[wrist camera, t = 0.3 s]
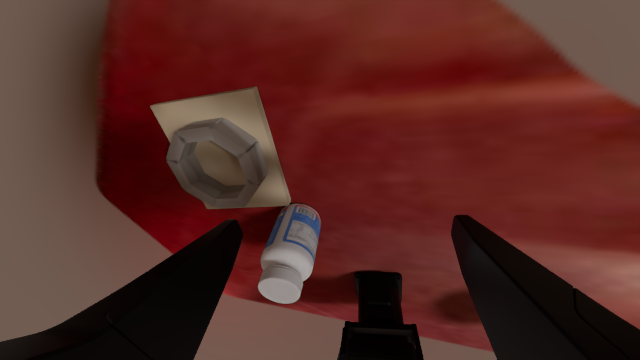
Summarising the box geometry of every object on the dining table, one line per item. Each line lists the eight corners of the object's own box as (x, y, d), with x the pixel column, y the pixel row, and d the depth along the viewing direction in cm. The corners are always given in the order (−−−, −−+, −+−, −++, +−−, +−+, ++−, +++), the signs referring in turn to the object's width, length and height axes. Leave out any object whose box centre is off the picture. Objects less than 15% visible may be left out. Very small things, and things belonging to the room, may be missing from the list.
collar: (291, 200, 27) (282, 220, 24) (211, 204, 30) (195, 222, 27) (256, 86, 21) (239, 95, 18) (157, 103, 23) (128, 113, 20)
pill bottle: (290, 236, 31) (265, 309, 23) (272, 206, 28) (237, 276, 20) (328, 230, 29) (315, 307, 21) (312, 198, 27) (291, 270, 19)
